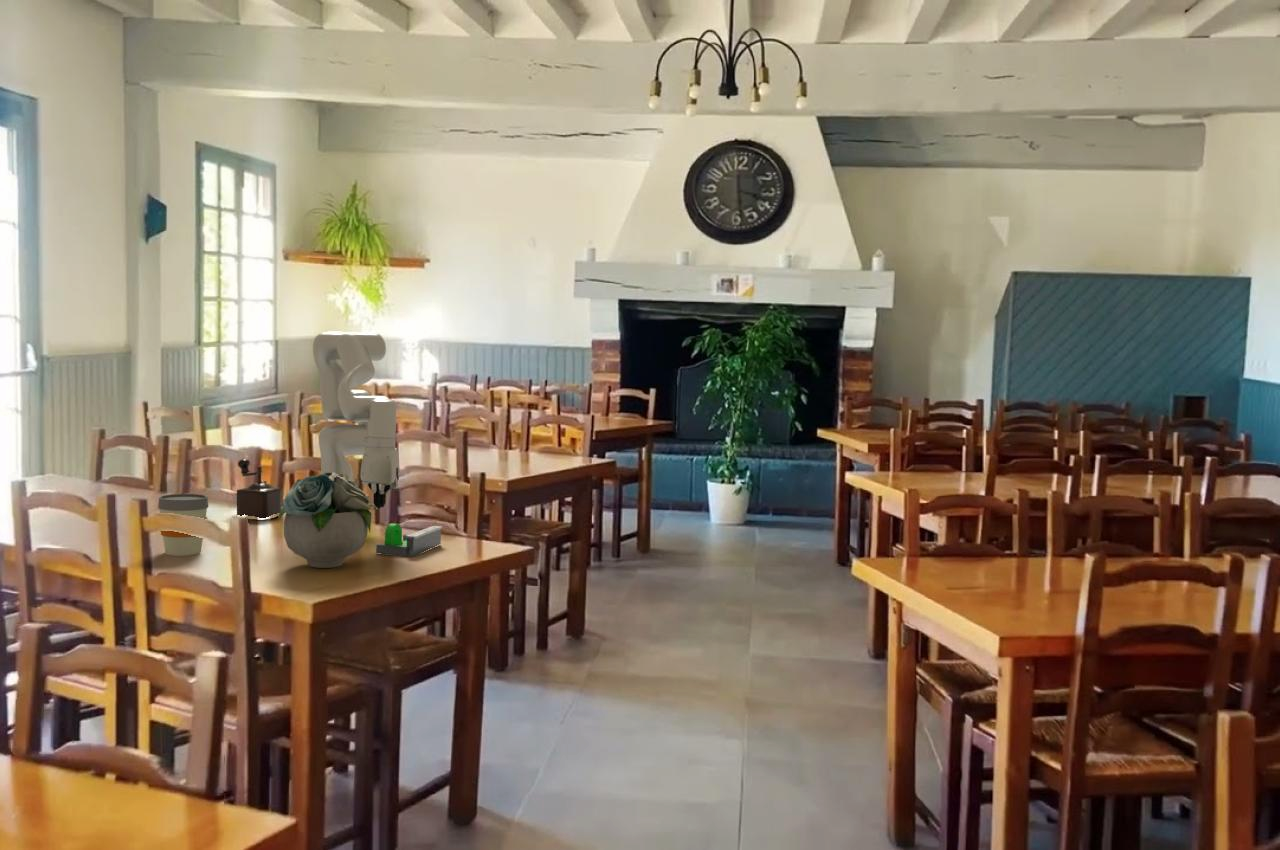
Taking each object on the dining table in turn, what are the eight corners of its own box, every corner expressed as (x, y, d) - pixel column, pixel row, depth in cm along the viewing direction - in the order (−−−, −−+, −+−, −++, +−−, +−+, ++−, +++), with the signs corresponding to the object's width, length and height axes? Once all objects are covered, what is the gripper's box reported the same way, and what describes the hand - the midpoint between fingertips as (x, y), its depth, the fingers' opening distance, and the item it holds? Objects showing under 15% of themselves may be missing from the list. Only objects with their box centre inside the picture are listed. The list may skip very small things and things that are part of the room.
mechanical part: (403, 555, 319) (403, 526, 318) (384, 553, 321) (385, 524, 320) (426, 548, 330) (426, 521, 330) (408, 546, 332) (408, 519, 332)
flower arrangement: (387, 571, 296) (389, 476, 295) (287, 578, 284) (288, 479, 282) (359, 553, 318) (361, 465, 316) (265, 559, 306) (266, 467, 304)
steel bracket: (376, 553, 319) (376, 533, 319) (405, 542, 337) (405, 523, 337) (414, 557, 316) (414, 536, 316) (441, 545, 334) (442, 526, 334)
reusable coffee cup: (159, 548, 315) (159, 493, 313) (208, 547, 319) (209, 493, 318) (156, 557, 303) (156, 500, 302) (207, 556, 307) (208, 500, 306)
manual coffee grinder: (284, 516, 375) (284, 460, 374) (264, 521, 364) (265, 464, 363) (241, 512, 379) (242, 457, 378) (221, 517, 368) (221, 461, 367)
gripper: (351, 442, 325) (348, 506, 327) (400, 446, 321) (397, 511, 323) (363, 439, 332) (361, 502, 334) (411, 443, 329) (409, 507, 331)
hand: (379, 506), depth 329 cm, fingers closed
